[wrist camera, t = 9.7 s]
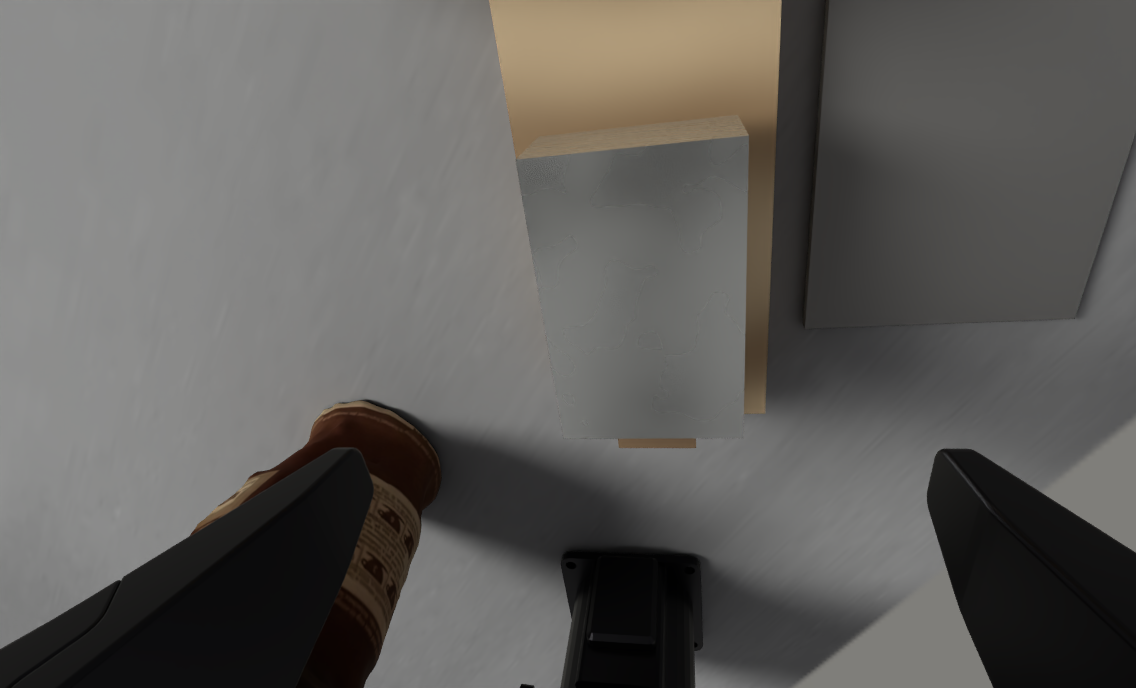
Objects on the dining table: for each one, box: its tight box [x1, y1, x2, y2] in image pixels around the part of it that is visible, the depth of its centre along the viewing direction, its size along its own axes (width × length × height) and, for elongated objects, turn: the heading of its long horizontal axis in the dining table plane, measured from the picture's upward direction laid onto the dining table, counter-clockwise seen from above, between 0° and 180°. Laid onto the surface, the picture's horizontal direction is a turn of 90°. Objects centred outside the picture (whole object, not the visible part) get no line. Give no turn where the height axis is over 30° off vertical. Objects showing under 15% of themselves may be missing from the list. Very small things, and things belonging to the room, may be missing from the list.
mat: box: [803, 0, 1136, 329], centre depth 17 cm, size 10×8×1 cm
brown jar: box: [190, 400, 442, 688], centre depth 21 cm, size 9×8×13 cm
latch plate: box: [489, 0, 782, 448], centre depth 16 cm, size 17×7×4 cm, turn 8°
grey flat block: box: [516, 115, 749, 439], centre depth 15 cm, size 8×5×2 cm, turn 8°
